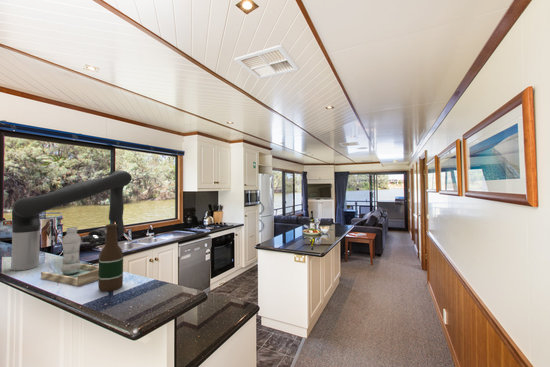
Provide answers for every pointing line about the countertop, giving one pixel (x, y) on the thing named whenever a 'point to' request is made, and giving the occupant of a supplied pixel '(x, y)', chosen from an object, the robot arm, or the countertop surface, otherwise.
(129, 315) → the countertop surface
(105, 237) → the robot arm
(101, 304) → the countertop surface
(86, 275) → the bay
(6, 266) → the countertop surface
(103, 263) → the beer bottle
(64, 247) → the plastic bottle
